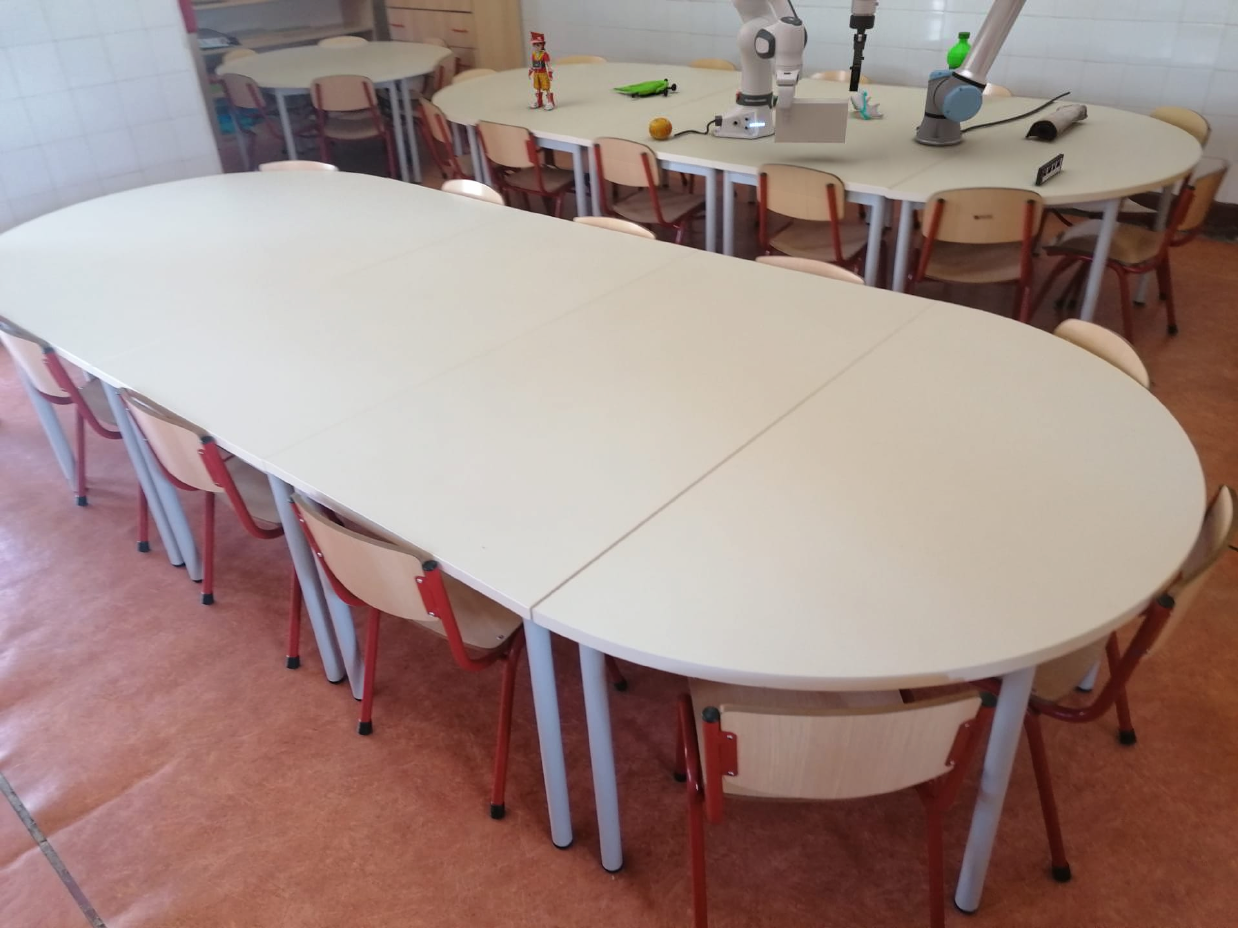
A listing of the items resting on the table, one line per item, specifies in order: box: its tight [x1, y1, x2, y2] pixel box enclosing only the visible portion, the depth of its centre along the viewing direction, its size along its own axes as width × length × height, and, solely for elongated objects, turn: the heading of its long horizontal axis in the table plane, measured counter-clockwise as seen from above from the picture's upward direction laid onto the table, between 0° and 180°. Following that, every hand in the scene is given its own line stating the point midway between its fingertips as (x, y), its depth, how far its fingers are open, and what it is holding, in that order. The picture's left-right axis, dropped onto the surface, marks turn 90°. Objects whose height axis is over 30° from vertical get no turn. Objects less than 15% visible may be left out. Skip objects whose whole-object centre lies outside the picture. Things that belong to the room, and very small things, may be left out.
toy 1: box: [527, 31, 556, 111], centre depth 374 cm, size 12×9×30 cm
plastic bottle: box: [946, 31, 972, 69], centre depth 348 cm, size 10×10×25 cm
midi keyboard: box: [1035, 153, 1065, 186], centre depth 273 cm, size 18×1×5 cm, turn 138°
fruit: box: [648, 117, 673, 140], centre depth 332 cm, size 8×8×8 cm
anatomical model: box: [849, 88, 884, 120], centre depth 343 cm, size 15×10×10 cm
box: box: [774, 97, 850, 144], centre depth 295 cm, size 23×6×12 cm, turn 76°
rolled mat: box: [1024, 103, 1089, 142], centre depth 314 cm, size 30×9×10 cm
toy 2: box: [612, 78, 677, 99], centre depth 396 cm, size 28×5×30 cm
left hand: (786, 118), depth 297 cm, fingers closed on box, 6 cm apart
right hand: (854, 87), depth 290 cm, fingers open, 13 cm apart
